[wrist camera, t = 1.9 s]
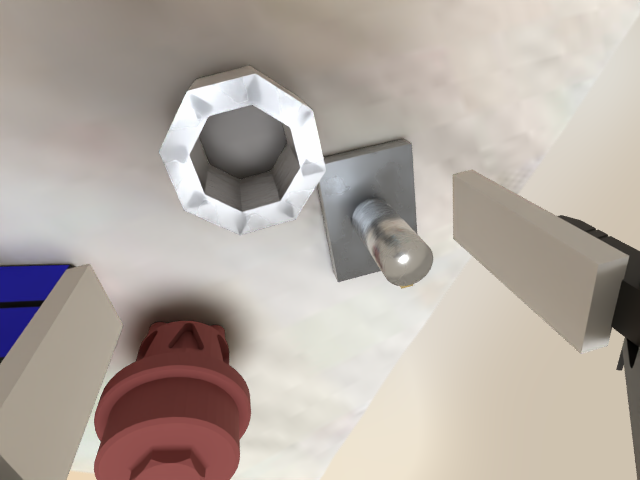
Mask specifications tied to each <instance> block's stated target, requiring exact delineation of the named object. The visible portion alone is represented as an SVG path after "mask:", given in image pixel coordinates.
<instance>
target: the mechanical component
mask: <svg viewBox="0 0 640 480" xmlns="http://www.w3.org/2000/svg"><path fill="white" fill-rule="evenodd" d="M250 416H251V406H250V394H249V389H248V387H247V384H246V382H245V381H244V379H243V378H242V376H241V375H240V374H239V373H238V372H237V371H236V370H235V369H234V368H232V367H231V366H230V365H229V348H228V344H227V342H226V340H225V330H224V328H223V327H221V326H219V325H211V326H209V325H206V324H204V323H200V322H195V321H176V322H171V323H164V322H156V323H154V324H152V325H151V326H150V329H149V332H148V335H147V336H146V337H145V339H144V340H143V342H142V344H141V346H140V349H139V352H138V356H137V359H136V362H134V363H132V364H130V365H128V366H127V367H125V368H123V369H122V370H121V371H119V372H118V373H117V374H116V375H115V376H114V377H113V378H112V379H111V380H110V381H109V382H108V384H107V385H106V387H105V388H104V390H103V392H102V395H101V397H100V400H99V403H98V406H97V409H96V412H95V418H94V425H95V431H96V433H97V436H98V438H99V440H100V441H101V443H100V446H99V449H98V453H97V456H96V459H95V462H94V472H95V476H96V479H97V480H230V479H231V477H232V476H233V475H234V473H235V471H236V469H237V468H238V464H239V460H240V443H239V440H240V439H241V437H242V436H243V434H244V433H245V431H246V429H247V427H248V425H249V421H250Z"/></svg>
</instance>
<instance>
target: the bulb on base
mask: <svg viewBox="0 0 640 480" xmlns="http://www.w3.org/2000/svg"><path fill="white" fill-rule="evenodd" d="M323 159H324V163H325V168H326V171H325V173H324V175H323V176H322V178H321V179H320V181H319V183H318V184H317V187H318V192H319V197H320V202H321V208H322V213H323V218H324V224H325V229H326V234H327V240H328V245H329V250H330V256H331V261H332V266H333V271H334V274H335V277H336V279H337V281H338V282H341V281H344V280H348V279H352V278H356V277H359V276H363V275H367V274H371V273H374V272H378V271H382V272H383V274H384V276H385V277H386V279H387V280H388V281H389V282H390V283H392V284H394V285H397V286H400V287H401V289H402V288H406V287H409V286H413V284H414V283H417V282H418V281H420V280H421V279H423V278H424V277H425V276H426V275H427V273H428V272H429V270H430V269H431V266H432V263H433V254H432V251H431V249H430V248H429V246H428V245H427V244H426V243H425V242H424V241H423V240H422V239H421V238H420V237H419V236H418V235H417V223H416V206H415V190H414V173H413V156H412V143H410V142H408V141H407V140H405V139H400V140H396V141H391V142H387V143H383V144H378V145H374V146H370V147H366V148H361V149H357V150H353V151H349V152H344V153H340V154H336V155H332V156H327V157H323Z"/></svg>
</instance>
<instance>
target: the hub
mask: <svg viewBox="0 0 640 480" xmlns="http://www.w3.org/2000/svg"><path fill="white" fill-rule="evenodd" d="M249 105H254V106H255V107H257V108H259V109H260V110H262V111H264V112H265V113H267V114H269V115H270V116H272V117H274V118H275V119H277V120H279V121H280V122H282V125H283V129H284V132H285V136H286V140H287V144H286V145H285V147H284V149H283V151H282V152H281V154H280V156H279V157H278V159H277V161H276V163H275V164H274V166H273V168H272V170H271V171H268V172H264V173H260V174H257V175H253V176H250V177H246V178H242V179H238V178H236V177H234V176H232V175H230V174H228V173H226V172H224V171H222V170H220V169H218V168H216V167H214V166H212V165H210V164H209V162H208V159H207V157H206V154H205V151H204V149H203V146H202V143H201V140H200V138H199V134H200V132H201V130H202V128H203V126H204V124H205V122H206V120H207V118H208V116H211V115H215V114H219V113H223V112H227V111H230V110H234V109H238V108H242V107H245V106H249ZM159 154H160V156H161V158H162V161H163V163H164V165H165V168H166V170H167V172H168V175H169V177H170V179H171V182H172V184H173V186H174V188H175V191H176V193H177V195H178V198H179V200H180V202H181V205H182V207H183V209H184V211H186V212H188V213H191V214H193V215H195V216H197V217H200V218H202V219H204V220H206V221H209V222H211V223H213V224H215V225H218V226H220V227H222V228H224V229H227V230H229V231H231V232H233V233H236V234H238V235H243V234H246V233H250V232H253V231H257V230H260V229H264V228H267V227H270V226H274V225H277V224H281V223H284V222H288V221H291V220H295V219H296V218H297V216H298V215H299V213H300V211H301V210H302V208H303V207H304V205H305V203H306V202H307V200H308V199H309V197H310V195H311V194H312V192H313V191H314V189H315V187H316V186H317V184H318V183H319V181H320V179H321V178H322V176H323V175H324V173H325V171H326V168H325V163H324V159H323V154H322V149H321V145H320V140H319V136H318V131H317V127H316V122H315V118H314V113H313V110H312V109H311V108H310V107H309V106H308V105H307V104H306V103H305V102H304V101H302V100H301V99H300V98H299V97H298V96H297V95H295V94H294V93H292V92H291V91H289V90H288V89H286V88H284V87H283V86H281V85H280V84H278V83H277V82H275V81H274V80H272V79H270V78H269V77H267V76H266V75H264V74H263V73H261V72H259V71H258V70H256V69H255V68H253V67H252V66H250V65H249V66H245V67H241V68H237V69H233V70H229V71H225V72H221V73H218V74H214V75H210V76H206V77H202V78H198V79H195V81H194V82H193V84H192V85H191V86H190V88H189V89H188V90H187V93H186V95H185V97H184V99H183V101H182V103H181V105H180V107H179V110H178V112H177V114H176V116H175V118H174V120H173V122H172V124H171V127H170V129H169V131H168V133H167V135H166V137H165V139H164V141H163V144H162V146H161V148H160V150H159Z"/></svg>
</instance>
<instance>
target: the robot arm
mask: <svg viewBox="0 0 640 480" xmlns="http://www.w3.org/2000/svg"><path fill="white" fill-rule="evenodd" d="M453 239H454V240H455V241H456V242H458V243H459V244H460V245H461V246H462V247H463V248H464V249H465V250H466V251H468V252H469V253H470V254H471V255H472V256H473V257H474V258H475V259H476V260H478V261H479V262H480V263H481V264H482V265H483V266H484V267H485V268H486V269H487V270H489V271H490V272H491V273H492V274H493V275H494V276H495V277H496V278H497V279H499V280H500V281H501V282H502V283H503V284H504V285H505V286H506V287H507V288H509V289H510V290H511V291H512V292H513V293H514V294H515V295H516V296H517V297H518V298H520V299H521V300H522V301H523V302H524V303H525V304H526V305H527V306H528V307H529V308H531V309H532V310H533V311H534V312H535V313H536V314H537V315H538V316H540V317H541V318H542V319H543V320H544V321H545V322H546V323H547V324H548V325H549V326H551V327H552V328H553V329H554V330H555V331H556V332H557V333H558V334H559V335H560V336H562V337H563V338H564V339H565V340H566V341H567V342H568V343H569V344H570V345H572V346H573V347H574V348H575V349H576V350H577V351H578V352H579V353H581V354H582V353H586V352H589V351H592V350H595V349H599V348H602V347H605V346H608V342H609V338H610V333H611V330H612V327H613V328H614V329H615V330H617V331H618V332H619V333H620V334H622V335H623V336H625V339H624V343H623V347H622V350H621V354H620V358H619V362H618V365H617V370H622V368H623V365H624V368H625V377H626V385H627V394H628V402H629V411H630V420H631V427H632V436H633V445H634V454H635V463H636V471H637V480H640V251H638V250H636V249H634V248H632V247H630V246H629V245H627V244H625V243H622V242H621V241H619V240H617V239H615V238H613V237H611V236H610V237H608V235H607V234H606V233H604V232H602V231H600V230H596V229H595V228H594V227H592V226H590V225H588V224H586V223H585V222H583V221H581V220H577V219H573V218H570V217H566V216H562V215H561V216H555V215H554V214H552V213H550V212H548V211H546V210H544V209H543V208H541V207H539V206H537V205H535V204H534V203H532V202H530V201H528V200H526V199H524V198H523V197H521V196H519V195H517V194H515V193H514V192H512V191H510V190H508V189H506V188H505V187H503V186H501V185H499V184H497V183H495V182H494V181H492V180H490V179H488V178H486V177H485V176H483V175H481V174H479V173H477V172H475V171H474V170H468V171H464V172H460V173H456V174H453ZM122 328H123V324H122V322H121V320H120V318H119V317H118V315H117V313H116V311H115V309H114V307H113V305H112V304H111V302H110V300H109V298H108V296H107V294H106V293H105V291H104V289H103V287H102V285H101V283H100V282H99V280H98V278H97V276H96V274H95V272H94V270H93V269H92V267H91V265H90V264H86V265H82V266H78V267H74V268H70V269H66V271H65V272H64V274H63V275H62V277H61V278H60V279H59V281H58V282H57V284H56V285H55V287H54V288H53V289H52V291H51V292H50V294H49V295H48V297H47V298H46V299H45V301H44V302H43V304H42V305H41V307H40V308H39V309H38V311H37V312H36V314H35V315H34V317H33V318H32V319H31V321H30V322H29V324H28V325H27V327H26V328H25V329H24V331H23V332H22V334H21V335H20V337H19V338H18V339H17V341H16V342H15V344H14V345H13V346H12V348H11V349H10V351H9V352H8V354H7V355H6V356H5V358H4V359H3V361H2V362H1V364H0V480H67V477H68V474H69V471H70V469H71V466H72V463H73V461H74V458H75V455H76V452H77V450H78V447H79V444H80V442H81V439H82V436H83V433H84V431H85V428H86V425H87V423H88V420H89V417H90V414H91V412H92V409H93V406H94V404H95V401H96V398H97V395H98V393H99V390H100V387H101V385H102V382H103V379H104V376H105V374H106V371H107V368H108V366H109V363H110V360H111V357H112V355H113V352H114V349H115V347H116V344H117V341H118V338H119V336H120V333H121V330H122Z"/></svg>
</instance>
